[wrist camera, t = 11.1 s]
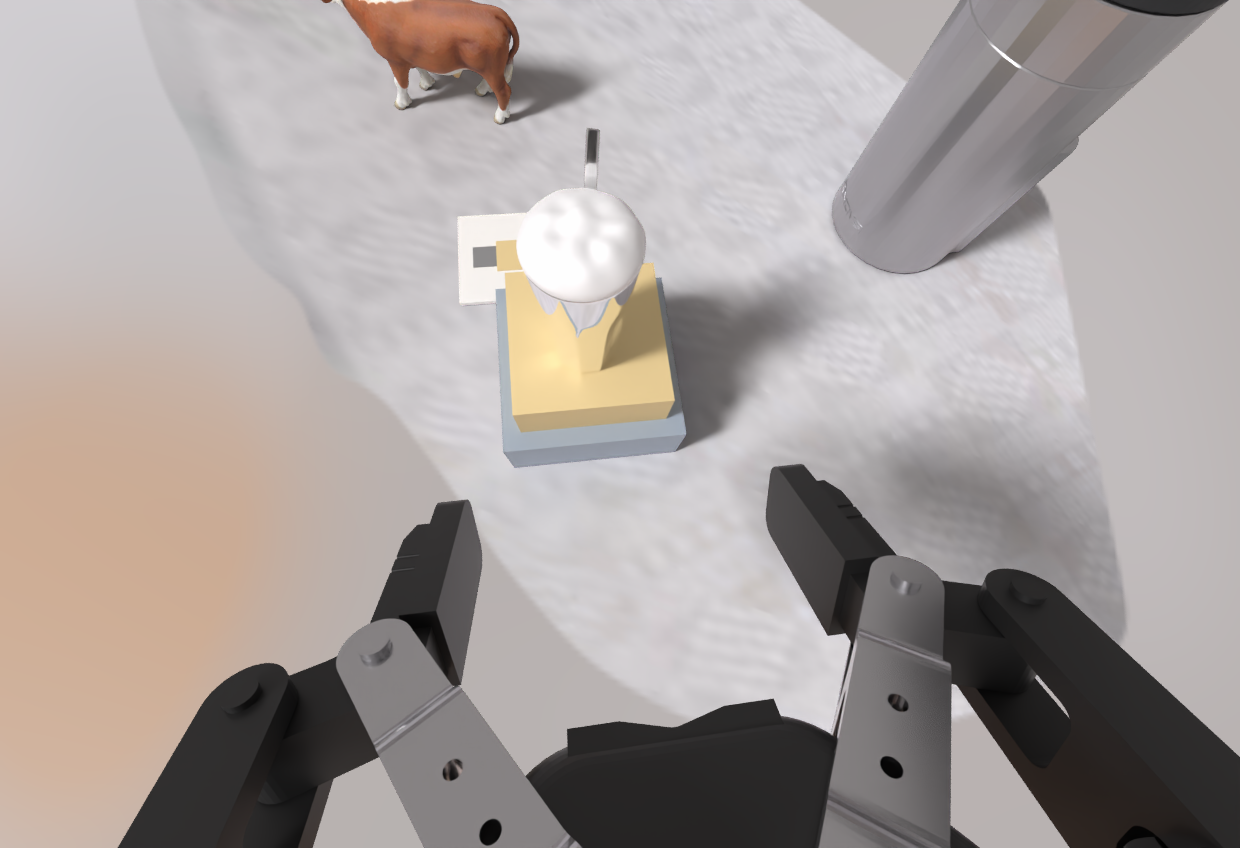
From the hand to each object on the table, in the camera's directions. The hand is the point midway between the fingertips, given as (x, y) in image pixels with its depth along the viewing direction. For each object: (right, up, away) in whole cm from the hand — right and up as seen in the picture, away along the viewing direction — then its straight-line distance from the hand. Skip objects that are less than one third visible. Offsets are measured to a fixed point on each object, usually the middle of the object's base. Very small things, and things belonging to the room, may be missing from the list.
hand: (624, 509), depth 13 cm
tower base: (-2, +5, +19) cm, 20 cm away
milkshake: (-2, +7, +12) cm, 14 cm away
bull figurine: (-14, +28, +25) cm, 40 cm away
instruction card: (-6, +14, +21) cm, 26 cm away
